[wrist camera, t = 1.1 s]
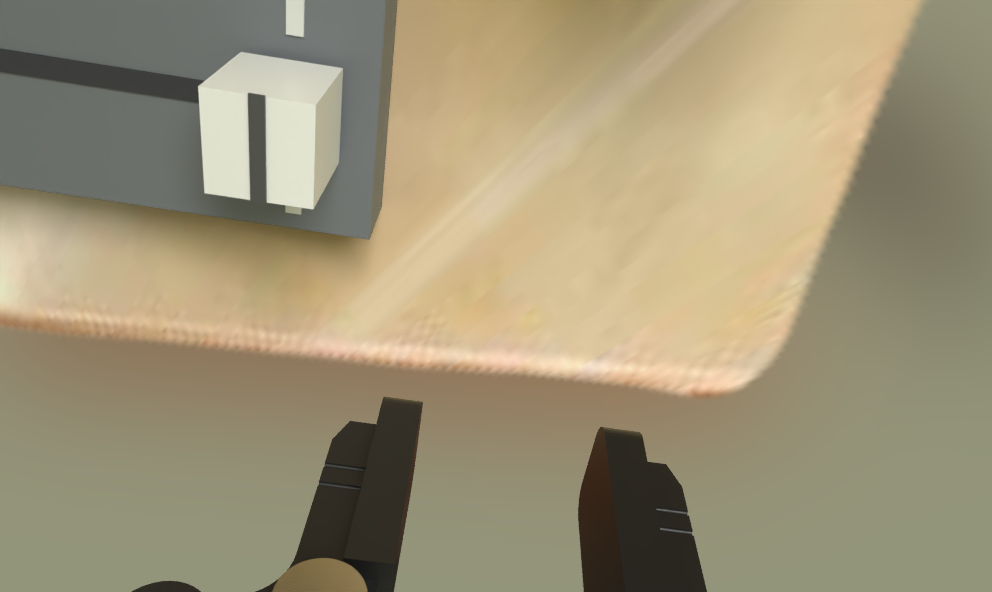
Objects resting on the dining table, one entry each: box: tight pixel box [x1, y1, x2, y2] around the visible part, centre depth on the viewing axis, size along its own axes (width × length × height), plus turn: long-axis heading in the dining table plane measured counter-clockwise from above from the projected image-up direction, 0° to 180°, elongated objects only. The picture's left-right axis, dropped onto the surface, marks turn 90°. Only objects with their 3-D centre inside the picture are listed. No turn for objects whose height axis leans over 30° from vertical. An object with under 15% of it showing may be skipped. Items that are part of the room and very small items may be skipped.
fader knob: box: [198, 52, 343, 209], centre depth 25 cm, size 4×4×4 cm
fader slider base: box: [0, 0, 397, 239], centre depth 28 cm, size 10×20×3 cm, turn 81°
